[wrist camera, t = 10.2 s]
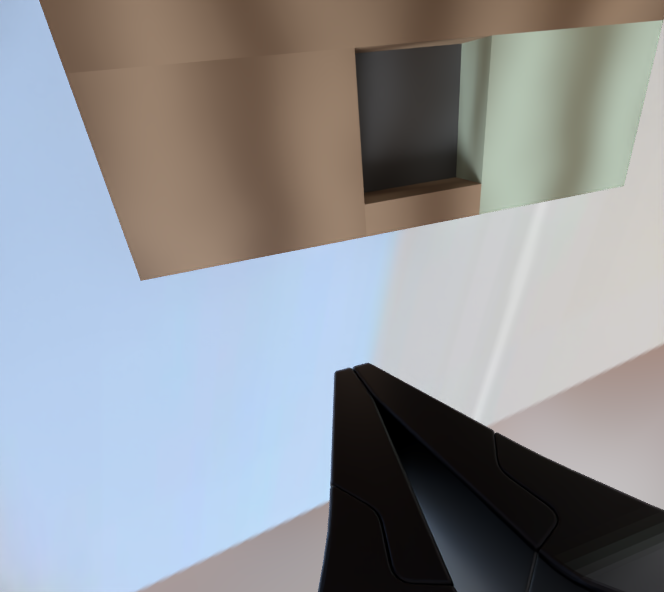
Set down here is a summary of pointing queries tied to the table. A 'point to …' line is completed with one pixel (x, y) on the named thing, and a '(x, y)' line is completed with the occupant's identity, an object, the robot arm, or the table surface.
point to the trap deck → (346, 113)
